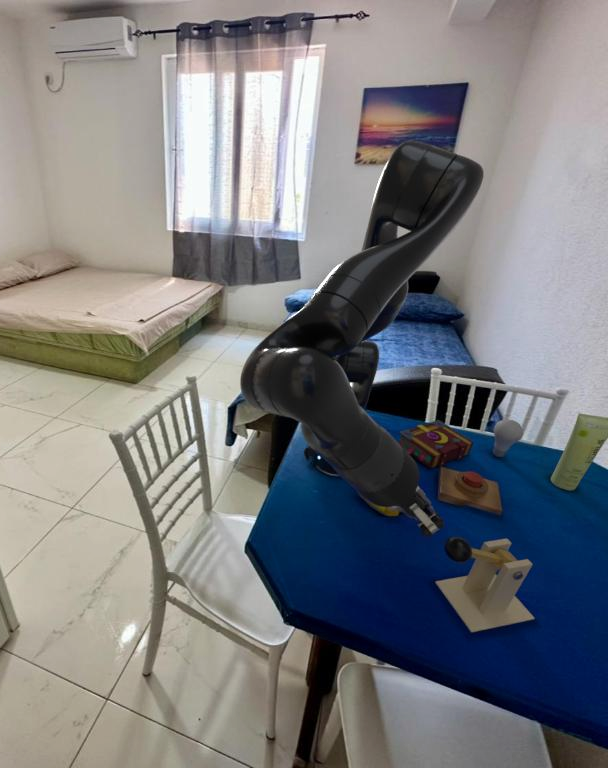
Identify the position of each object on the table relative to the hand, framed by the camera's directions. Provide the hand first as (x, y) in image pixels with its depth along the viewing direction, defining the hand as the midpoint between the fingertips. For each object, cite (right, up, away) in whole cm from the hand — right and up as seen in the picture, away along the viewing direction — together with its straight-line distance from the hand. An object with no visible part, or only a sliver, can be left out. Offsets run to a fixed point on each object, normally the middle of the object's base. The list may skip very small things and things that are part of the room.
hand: (434, 521), depth 56 cm
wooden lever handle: (+10, -9, +7) cm, 15 cm away
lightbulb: (+43, 0, +50) cm, 66 cm away
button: (+27, -3, +35) cm, 45 cm away
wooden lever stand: (+15, -19, +14) cm, 28 cm away
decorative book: (+26, +1, +51) cm, 57 cm away
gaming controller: (+8, -7, +35) cm, 37 cm away
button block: (+27, -6, +37) cm, 46 cm away
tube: (+52, -5, +42) cm, 67 cm away
